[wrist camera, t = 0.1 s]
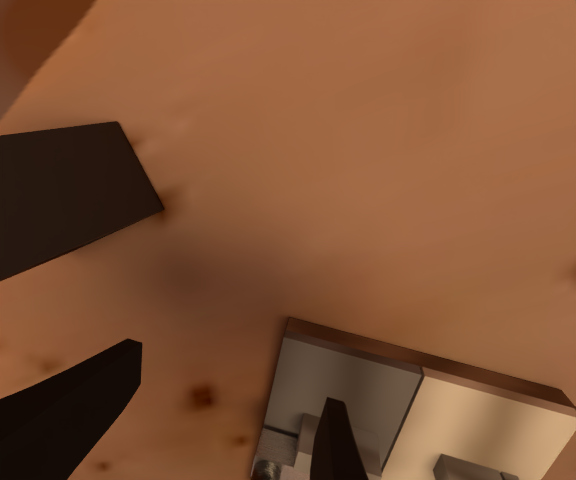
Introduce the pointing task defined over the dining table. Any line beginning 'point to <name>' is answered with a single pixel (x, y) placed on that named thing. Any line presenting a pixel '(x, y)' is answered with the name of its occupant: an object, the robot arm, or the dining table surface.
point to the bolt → (276, 458)
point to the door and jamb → (416, 409)
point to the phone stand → (67, 192)
